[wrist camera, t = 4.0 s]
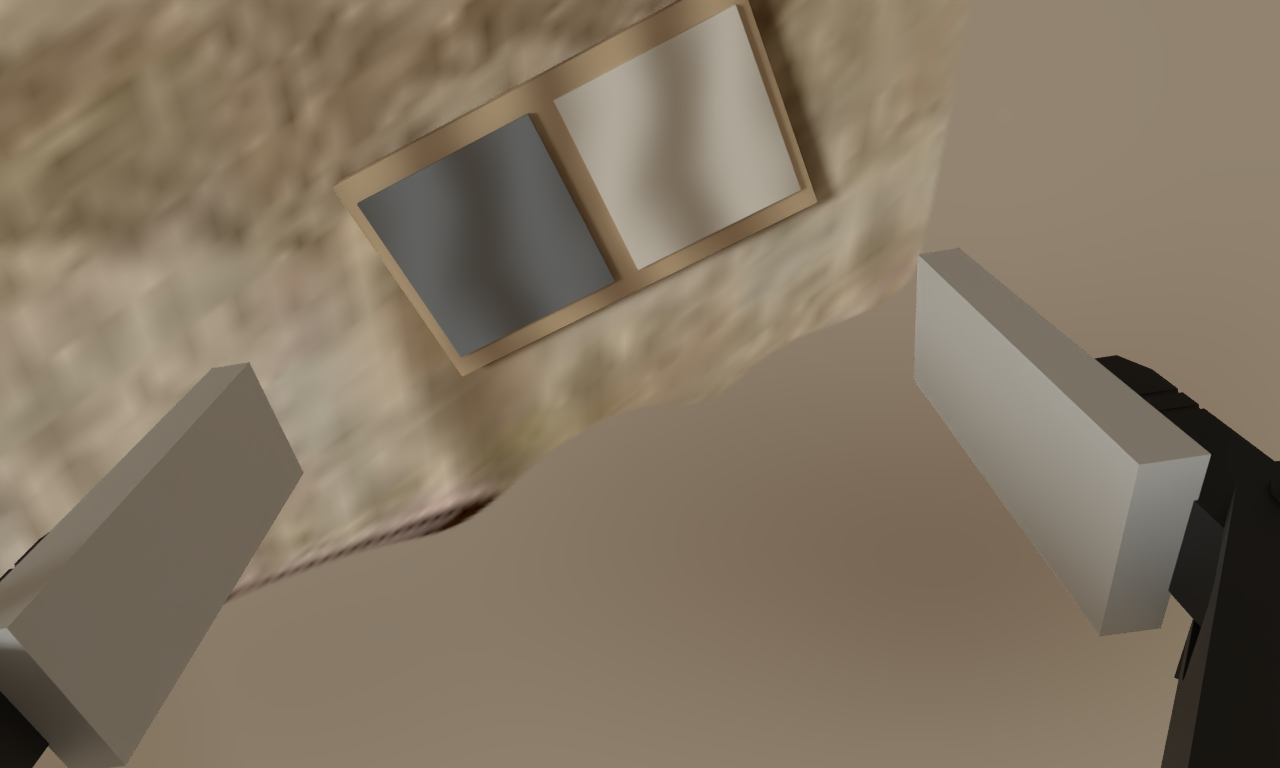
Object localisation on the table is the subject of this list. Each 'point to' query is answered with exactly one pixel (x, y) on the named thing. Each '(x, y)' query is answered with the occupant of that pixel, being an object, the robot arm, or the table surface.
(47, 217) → the table surface
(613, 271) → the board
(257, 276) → the table surface
